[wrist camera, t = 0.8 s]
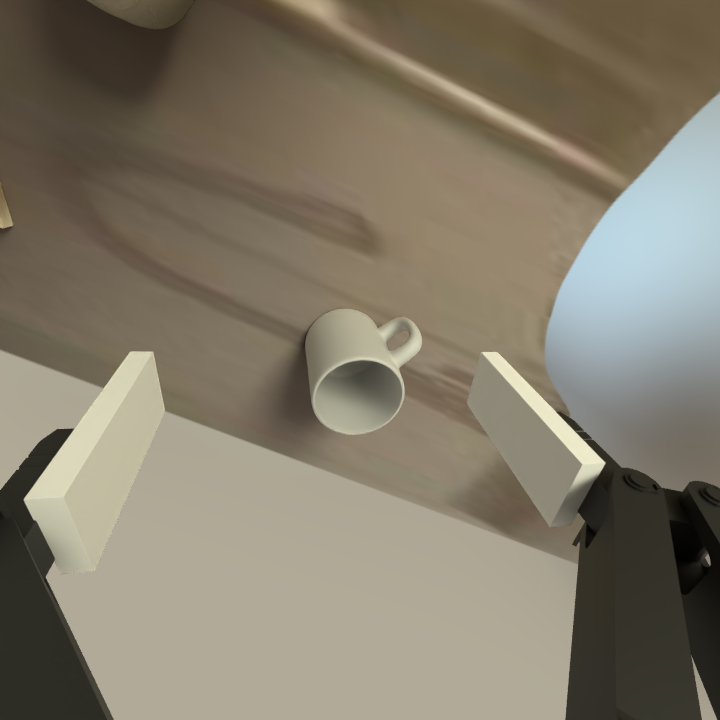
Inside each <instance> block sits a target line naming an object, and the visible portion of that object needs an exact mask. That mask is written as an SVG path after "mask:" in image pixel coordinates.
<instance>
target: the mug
mask: <svg viewBox="0 0 720 720" xmlns="http://www.w3.org/2000/svg"><path fill="white" fill-rule="evenodd" d="M400 331H408V332H409V338H408V340H407V341H406V342H405V343H404V344H403V345H401V346H400V347H398V348H396V349H394V350H392V351H389V350H388V347H387V344H386V342H387V341H388V340H389V339H390V338H391V337H392V336H393V335H395V334H396V333H398V332H400ZM421 346H422V337H421V334H420V331H419V330H418V328H417V326H416V325H415V324H414V323H413V322H412V321H411V320H409V319H408V318H405V317H398V318H394V319H392V320H390V321H389V322H387V323H385V324H384V325H382V326H381V327H379V328H378V327H377V326H376V324H375V323H374V322H373V320H372V319H371V318H370V317H368V316H367V315H365V314H364V313H362V312H360V311H357V310H353V309H336V310H333V311H330V312H327V313H325V314H324V315H322V316H321V317H319V318H318V319H317V320H316V321H315V322H314V323H313V324H312V326H311V327H310V329H309V331H308V333H307V336H306V341H305V351H306V358H307V366H308V376H309V386H310V396H311V403H312V408H313V411H314V413H315V415H316V417H317V418H318V420H319V421H320V422H321V423H322V424H323V425H324V426H326V427H327V428H329V429H330V430H332V431H335V432H338V433H341V434H348V435H358V434H365V433H369V432H372V431H374V430H377V429H379V428H381V427H382V426H384V425H385V424H387V423H388V422H389V421H390V420H392V418H393V417H394V416H395V415H396V414H397V412H398V411H399V409H400V407H401V405H402V403H403V399H404V383H403V380H402V377H401V374H400V371H399V368H400V367H401V366H402V365H403V364H404V363H406V362H407V361H409V360H410V359H411V358H412V357H414V356H415V355H416V354H417V353H418V352H419V350H420V348H421Z"/></svg>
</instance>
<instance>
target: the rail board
mask: <svg viewBox="0 0 720 720" xmlns="http://www.w3.org/2000/svg"><path fill="white" fill-rule="evenodd" d="M10 226H13V223H12V219H11V216H10V213H9V210H8V206H7V203H6V200H5V196H4V193H3V190H2V186H1V183H0V228H7V227H10Z"/></svg>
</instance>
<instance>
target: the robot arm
mask: <svg viewBox="0 0 720 720" xmlns="http://www.w3.org/2000/svg"><path fill="white" fill-rule="evenodd" d="M467 405H468V406H469V408H470V409H471V411H472V412H473V414H474V415H475V417H476V418H477V420H478V421H479V423H480V424H481V426H482V427H483V429H484V430H485V432H486V433H487V435H488V436H489V437H490V439H491V440H492V442H493V443H494V445H495V446H496V448H497V449H498V451H499V452H500V454H501V455H502V457H503V458H504V460H505V461H506V463H507V464H508V466H509V467H510V469H511V470H512V472H513V473H514V475H515V476H516V478H517V479H518V481H519V482H520V484H521V485H522V487H523V488H524V489H525V491H526V492H527V494H528V495H529V497H530V498H531V500H532V501H533V503H534V504H535V506H536V507H537V509H538V510H539V512H540V513H541V515H542V516H543V518H544V519H545V521H546V522H547V524H548V525H549V527H556V526H566V525H571V524H572V522H573V520H574V518H575V517H576V515H577V513H578V512H579V514H580V515H581V516H582V518H583V519H584V520H585V523H584V525H583V526H582V528H581V530H580V531H579V533H578V535H577V536H576V538H575V540H574V542H573V544H572V545H574V546H577V544H578V542H580V550H579V562H578V575H577V588H576V599H575V612H574V625H573V635H572V647H571V660H570V671H569V684H568V695H567V707H566V720H702V718H701V712H700V706H699V700H698V694H697V688H696V682H695V675H694V670H693V663H692V658H693V660H694V663H695V665H696V668H697V670H698V673H699V675H700V678H701V680H702V682H703V685H704V688H705V690H706V692H707V695H708V697H709V700H710V702H711V705H712V707H713V710H714V712H715V715H716V717H717V720H720V488H718V487H717V486H714V485H711V484H708V483H705V482H700V481H692V482H689V484H688V485H687V486H686V488H685V489H684V490H683V492H680V491H675V490H670V489H665V488H661V487H660V486H659V484H658V483H657V482H656V481H654V480H653V479H652V478H650V477H649V476H647V475H646V474H644V473H642V472H639V471H637V470H633V469H630V468H621V467H620V466H619V465H618V464H617V463H616V462H615V461H614V460H613V459H612V458H611V457H610V456H609V455H608V454H607V453H606V452H605V451H604V450H603V449H602V448H601V447H600V446H599V445H598V444H597V443H596V442H595V441H594V440H592V439H591V437H590V436H589V435H588V434H587V433H586V432H584V431H583V429H582V428H581V427H580V426H579V425H578V424H577V423H576V422H575V421H574V420H572V419H571V418H569V417H568V416H566V415H564V414H563V413H561V412H555V411H554V410H553V409H552V408H551V407H550V406H549V405H548V404H547V402H546V401H545V400H544V399H543V398H542V397H541V396H540V395H539V394H538V393H537V392H536V391H535V390H534V389H533V388H532V387H531V386H530V385H529V384H528V383H527V382H526V381H525V380H524V379H523V378H522V377H521V376H520V375H519V374H518V373H517V372H516V371H515V370H514V369H513V368H512V367H511V366H510V365H509V364H508V362H507V361H506V360H505V359H504V358H503V357H502V356H501V355H500V354H499V353H498V352H481V355H480V358H479V362H478V365H477V369H476V372H475V376H474V379H473V383H472V386H471V390H470V393H469V397H468V400H467ZM164 413H165V408H164V403H163V398H162V393H161V388H160V383H159V378H158V373H157V368H156V363H155V359H154V354H153V352H130V353H129V354H128V356H127V357H126V358H125V360H124V361H123V363H122V364H121V365H120V367H119V368H118V369H117V371H116V372H115V374H114V375H113V376H112V378H111V379H110V381H109V382H108V383H107V385H106V386H105V387H104V389H103V390H102V392H101V393H100V394H99V396H98V397H97V399H96V400H95V401H94V403H93V404H92V405H91V407H90V408H89V410H88V411H87V412H86V414H85V415H84V417H83V418H82V420H81V421H80V422H79V423H78V425H77V426H76V428H75V429H57V430H55V431H54V432H53V433H51V434H50V435H48V436H47V437H45V438H44V439H43V440H41V441H40V442H39V443H38V444H37V445H36V447H35V448H34V449H33V451H32V452H31V453H30V454H29V457H28V458H26V459H25V460H24V462H23V463H22V464H21V465H20V466H19V470H16V471H15V473H14V474H13V475H12V476H11V478H10V479H9V480H8V481H7V483H6V484H5V485H4V486H3V488H2V489H1V490H0V720H114V719H113V717H112V715H111V714H110V711H109V709H108V707H107V705H106V703H105V701H104V698H103V697H102V694H101V692H100V690H99V688H98V686H97V684H96V682H95V679H94V677H93V675H92V673H91V671H90V669H89V667H88V665H87V663H86V661H85V659H84V656H83V655H82V652H81V650H80V648H79V646H78V644H77V642H76V640H75V638H74V635H73V633H72V631H71V629H70V627H69V625H68V623H67V621H66V619H65V617H64V615H63V612H62V610H61V608H60V606H59V604H58V602H57V600H56V598H55V596H54V594H53V591H52V589H51V587H50V585H49V583H48V581H47V579H46V578H45V577H46V575H47V573H48V571H49V569H50V568H51V566H52V564H53V562H54V561H55V563H56V565H57V567H58V569H59V571H60V573H61V574H70V573H81V572H92V571H95V570H96V567H97V565H98V563H99V561H100V558H101V556H102V554H103V552H104V549H105V547H106V545H107V542H108V540H109V538H110V536H111V533H112V531H113V529H114V527H115V524H116V522H117V520H118V518H119V515H120V513H121V511H122V508H123V506H124V503H125V502H126V499H127V497H128V495H129V492H130V490H131V488H132V485H133V483H134V481H135V479H136V477H137V474H138V472H139V470H140V467H141V465H142V463H143V460H144V458H145V456H146V454H147V452H148V449H149V447H150V445H151V442H152V440H153V438H154V435H155V433H156V431H157V429H158V427H159V424H160V422H161V420H162V417H163V415H164ZM707 554H709V556H710V561H711V565H710V566H709V564H708V562H707V561H706V559H705V557H706V555H707ZM691 655H692V658H691Z"/></svg>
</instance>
